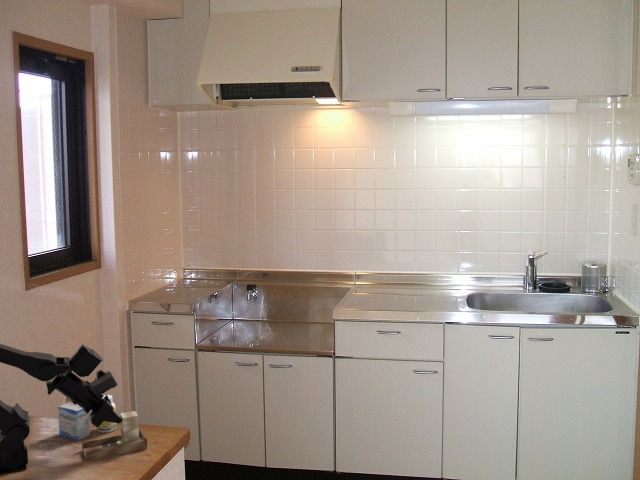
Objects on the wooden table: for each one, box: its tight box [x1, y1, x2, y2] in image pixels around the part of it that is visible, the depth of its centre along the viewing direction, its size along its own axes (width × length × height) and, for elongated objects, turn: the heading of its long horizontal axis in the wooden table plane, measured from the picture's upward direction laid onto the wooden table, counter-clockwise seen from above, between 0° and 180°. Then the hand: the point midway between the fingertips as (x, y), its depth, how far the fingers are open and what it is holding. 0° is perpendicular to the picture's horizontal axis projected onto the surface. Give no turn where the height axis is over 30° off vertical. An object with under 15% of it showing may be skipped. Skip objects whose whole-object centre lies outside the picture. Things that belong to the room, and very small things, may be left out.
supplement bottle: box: [96, 394, 118, 433], centre depth 199 cm, size 5×5×10 cm
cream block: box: [119, 410, 140, 444], centre depth 187 cm, size 4×4×8 cm
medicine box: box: [57, 402, 91, 441], centre depth 196 cm, size 8×4×9 cm, turn 62°
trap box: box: [81, 428, 148, 462], centre depth 186 cm, size 16×7×3 cm, turn 117°
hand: (120, 421), depth 186 cm, fingers closed, pressing on cream block
